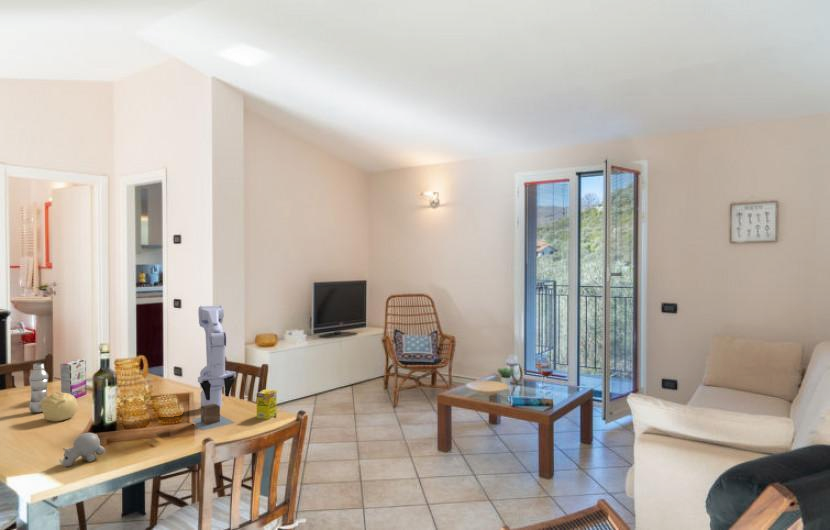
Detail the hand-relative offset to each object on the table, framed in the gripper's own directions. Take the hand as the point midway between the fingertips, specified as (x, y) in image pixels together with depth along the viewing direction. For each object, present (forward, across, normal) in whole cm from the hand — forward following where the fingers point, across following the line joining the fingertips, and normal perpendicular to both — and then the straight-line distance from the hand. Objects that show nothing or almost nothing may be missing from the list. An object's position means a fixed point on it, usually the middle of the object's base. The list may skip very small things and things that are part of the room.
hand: (217, 397), depth 208 cm
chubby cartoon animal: (+10, -48, -10) cm, 50 cm away
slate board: (+9, -3, -1) cm, 10 cm away
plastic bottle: (+10, -48, +63) cm, 80 cm away
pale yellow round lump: (+10, -44, +46) cm, 65 cm away
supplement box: (+10, +16, -10) cm, 21 cm away
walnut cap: (+8, -3, -1) cm, 9 cm away
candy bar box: (+10, -32, +80) cm, 87 cm away
